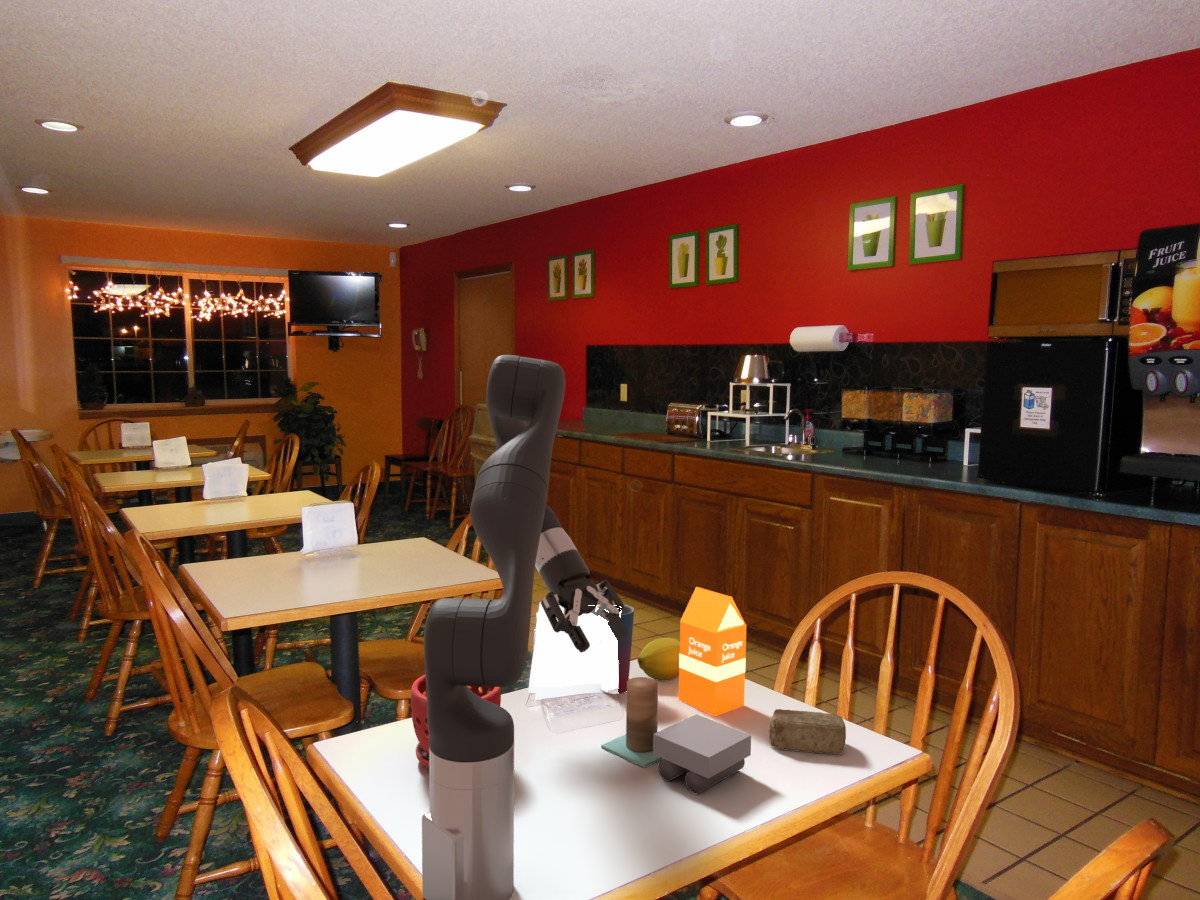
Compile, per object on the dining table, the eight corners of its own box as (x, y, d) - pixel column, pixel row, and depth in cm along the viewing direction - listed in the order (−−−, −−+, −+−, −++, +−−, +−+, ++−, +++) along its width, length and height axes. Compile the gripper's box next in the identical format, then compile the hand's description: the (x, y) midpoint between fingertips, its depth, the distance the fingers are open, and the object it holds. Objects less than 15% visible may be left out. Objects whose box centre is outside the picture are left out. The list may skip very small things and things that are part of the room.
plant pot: (392, 769, 120) (392, 689, 119) (447, 734, 132) (447, 661, 131) (467, 790, 114) (467, 706, 113) (517, 751, 126) (517, 675, 125)
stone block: (846, 758, 126) (847, 726, 125) (769, 752, 128) (770, 720, 127) (842, 741, 132) (843, 711, 131) (768, 735, 133) (769, 706, 133)
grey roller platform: (707, 799, 113) (708, 757, 112) (652, 773, 120) (653, 733, 119) (750, 774, 120) (751, 735, 119) (695, 751, 127) (696, 714, 126)
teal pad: (644, 767, 122) (644, 765, 121) (601, 747, 128) (601, 745, 128) (683, 748, 128) (683, 746, 128) (640, 730, 134) (640, 727, 134)
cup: (626, 698, 147) (628, 616, 146) (590, 693, 149) (591, 612, 148) (637, 685, 154) (638, 606, 152) (602, 680, 156) (603, 602, 154)
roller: (642, 755, 124) (643, 690, 124) (619, 745, 128) (620, 682, 127) (663, 745, 128) (664, 682, 127) (640, 736, 131) (641, 674, 130)
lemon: (678, 669, 162) (679, 629, 161) (697, 683, 155) (698, 641, 154) (627, 676, 158) (628, 635, 157) (645, 691, 151) (646, 648, 150)
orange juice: (707, 689, 152) (710, 583, 150) (744, 705, 145) (748, 593, 143) (677, 700, 147) (680, 590, 145) (714, 716, 140) (717, 601, 138)
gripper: (536, 554, 132) (584, 641, 125) (599, 542, 142) (647, 622, 135) (515, 580, 137) (560, 666, 130) (577, 566, 147) (623, 645, 140)
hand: (605, 643), depth 133 cm, fingers open, 8 cm apart
